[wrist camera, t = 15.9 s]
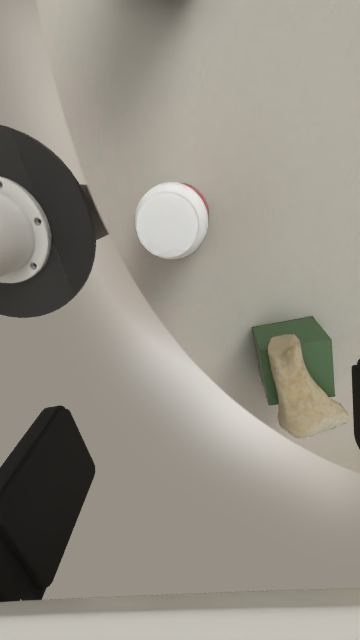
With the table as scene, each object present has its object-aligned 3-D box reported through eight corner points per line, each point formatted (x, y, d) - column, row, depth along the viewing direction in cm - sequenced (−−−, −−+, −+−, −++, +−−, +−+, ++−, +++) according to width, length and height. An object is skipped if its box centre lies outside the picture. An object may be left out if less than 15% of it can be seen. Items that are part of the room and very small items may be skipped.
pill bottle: (185, 169, 31) (174, 160, 21) (220, 220, 33) (225, 235, 22) (139, 209, 33) (108, 218, 23) (174, 255, 34) (160, 283, 24)
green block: (260, 375, 40) (268, 405, 34) (252, 327, 37) (259, 351, 32) (316, 366, 38) (335, 396, 33) (312, 316, 36) (331, 339, 30)
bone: (343, 405, 33) (363, 439, 29) (290, 429, 35) (301, 464, 31) (291, 327, 30) (304, 351, 26) (236, 358, 32) (240, 385, 28)
